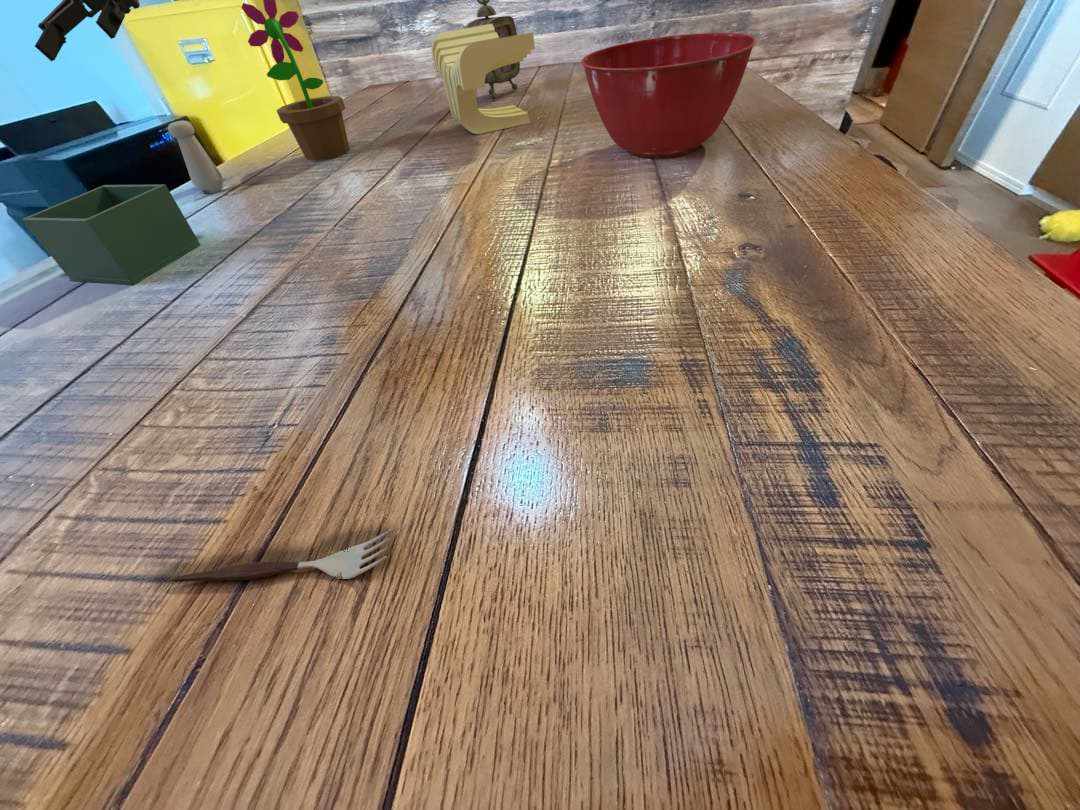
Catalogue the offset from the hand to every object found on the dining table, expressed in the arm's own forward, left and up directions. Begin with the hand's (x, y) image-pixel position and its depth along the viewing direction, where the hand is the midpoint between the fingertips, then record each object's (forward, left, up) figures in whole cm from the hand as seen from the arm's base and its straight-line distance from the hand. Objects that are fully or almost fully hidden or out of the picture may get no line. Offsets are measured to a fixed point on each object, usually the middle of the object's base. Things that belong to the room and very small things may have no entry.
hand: (74, 42), depth 89 cm
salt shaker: (+9, +4, -27) cm, 29 cm away
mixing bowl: (+99, +25, -27) cm, 106 cm away
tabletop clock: (+46, +77, -27) cm, 94 cm away
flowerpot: (+22, +27, -27) cm, 44 cm away
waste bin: (+23, -27, -27) cm, 45 cm away
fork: (+85, -68, -27) cm, 112 cm away
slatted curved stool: (+56, +46, -27) cm, 77 cm away
